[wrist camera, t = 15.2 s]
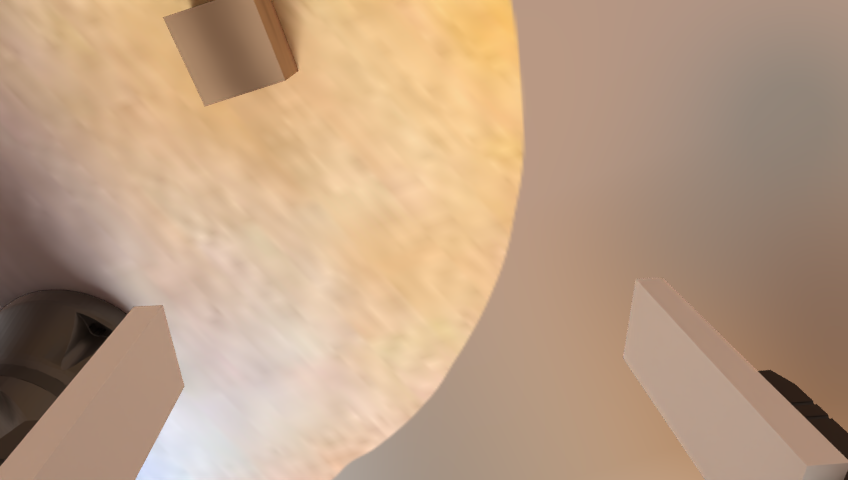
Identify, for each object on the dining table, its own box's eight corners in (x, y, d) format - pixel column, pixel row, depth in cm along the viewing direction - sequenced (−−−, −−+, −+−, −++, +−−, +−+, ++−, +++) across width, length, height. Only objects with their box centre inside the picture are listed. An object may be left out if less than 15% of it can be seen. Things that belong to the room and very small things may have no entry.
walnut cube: (228, 93, 42) (204, 106, 37) (193, 15, 40) (163, 17, 34) (298, 70, 42) (285, 80, 36) (267, -10, 39) (249, -12, 34)
